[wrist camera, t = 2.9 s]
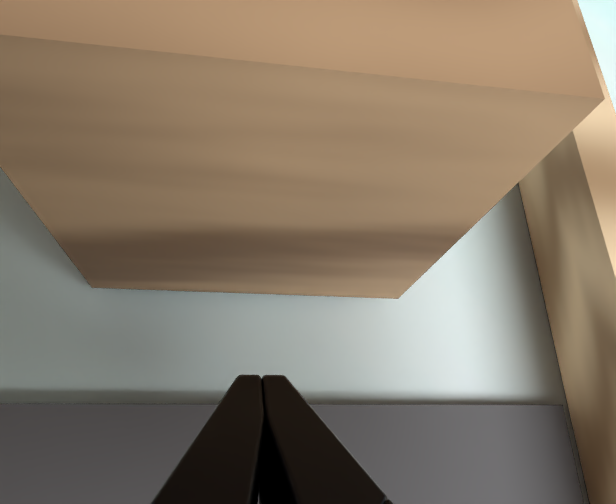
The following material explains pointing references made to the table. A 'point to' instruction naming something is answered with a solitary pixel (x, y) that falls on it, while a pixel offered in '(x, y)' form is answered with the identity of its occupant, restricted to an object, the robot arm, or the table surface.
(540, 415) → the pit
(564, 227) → the channel
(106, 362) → the table surface
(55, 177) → the wooden block
